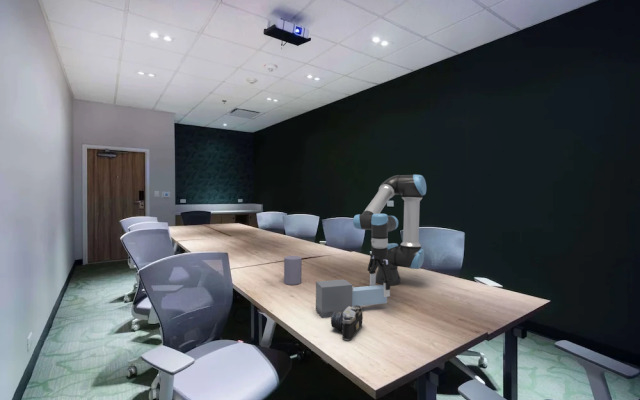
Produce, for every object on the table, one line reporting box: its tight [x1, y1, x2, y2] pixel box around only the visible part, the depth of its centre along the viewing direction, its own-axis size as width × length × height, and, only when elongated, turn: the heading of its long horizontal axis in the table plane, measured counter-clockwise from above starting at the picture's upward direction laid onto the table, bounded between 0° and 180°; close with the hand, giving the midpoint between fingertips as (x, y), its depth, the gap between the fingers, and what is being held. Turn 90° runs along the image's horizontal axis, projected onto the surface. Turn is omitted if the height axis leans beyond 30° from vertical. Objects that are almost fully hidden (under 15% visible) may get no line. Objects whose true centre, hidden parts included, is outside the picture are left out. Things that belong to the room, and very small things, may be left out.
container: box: [283, 255, 303, 286], centre depth 180 cm, size 10×10×15 cm
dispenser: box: [315, 279, 354, 319], centre depth 136 cm, size 14×9×13 cm, turn 107°
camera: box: [330, 305, 364, 341], centre depth 118 cm, size 16×10×10 cm, turn 154°
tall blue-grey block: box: [352, 284, 388, 307], centre depth 141 cm, size 18×5×7 cm, turn 107°
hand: (379, 291), depth 143 cm, fingers open, 13 cm apart
